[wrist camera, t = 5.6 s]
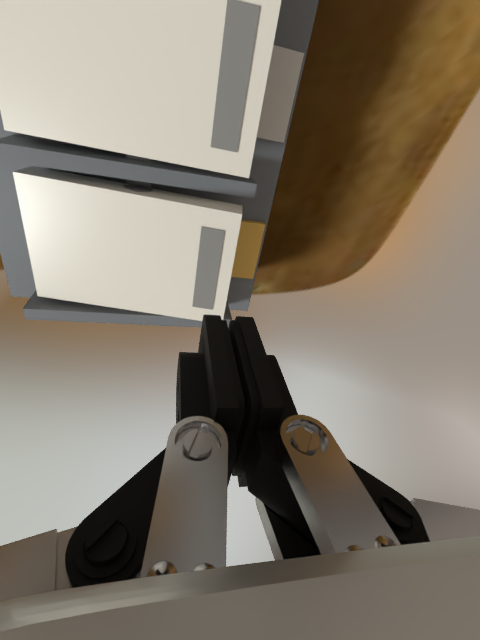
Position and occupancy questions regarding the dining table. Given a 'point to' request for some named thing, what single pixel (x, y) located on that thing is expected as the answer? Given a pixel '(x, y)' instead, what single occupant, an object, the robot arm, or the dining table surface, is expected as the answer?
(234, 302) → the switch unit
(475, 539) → the robot arm
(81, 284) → the panel
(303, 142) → the dining table surface
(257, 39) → the panel
